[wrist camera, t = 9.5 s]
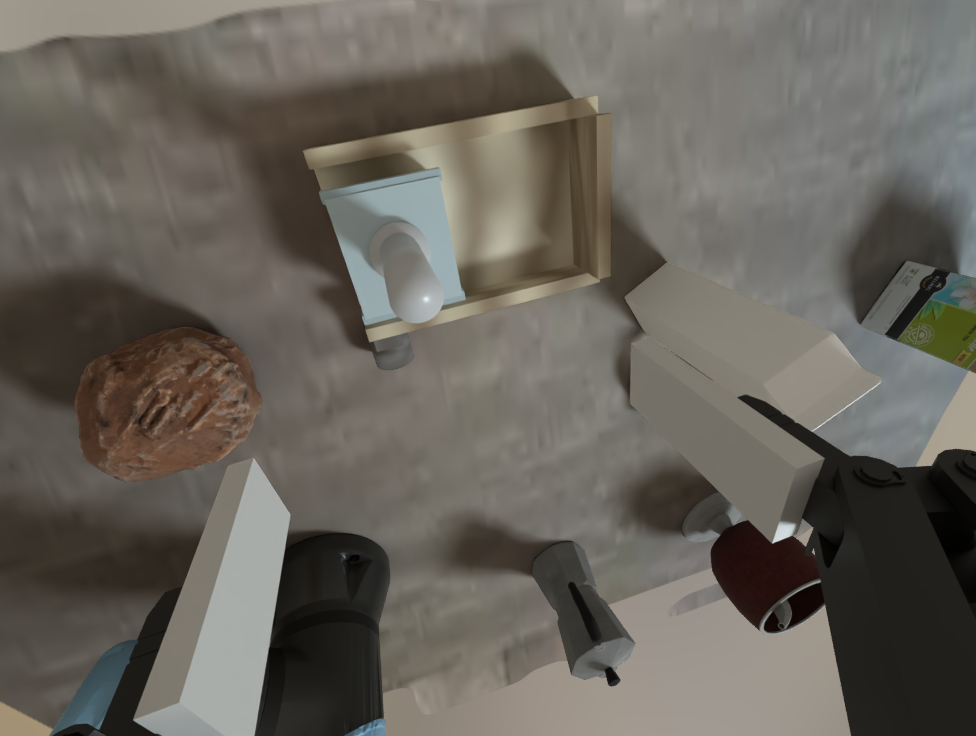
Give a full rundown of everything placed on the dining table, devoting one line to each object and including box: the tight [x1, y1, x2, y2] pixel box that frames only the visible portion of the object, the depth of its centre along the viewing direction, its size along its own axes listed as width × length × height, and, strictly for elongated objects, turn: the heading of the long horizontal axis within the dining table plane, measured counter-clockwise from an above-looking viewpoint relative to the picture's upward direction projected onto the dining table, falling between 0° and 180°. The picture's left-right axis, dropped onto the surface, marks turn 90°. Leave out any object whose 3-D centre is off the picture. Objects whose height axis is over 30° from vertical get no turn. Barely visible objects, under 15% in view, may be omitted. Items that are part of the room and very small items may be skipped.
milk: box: [624, 262, 881, 431], centre depth 38 cm, size 6×6×22 cm
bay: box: [303, 96, 612, 370], centre depth 36 cm, size 22×18×6 cm
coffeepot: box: [532, 542, 635, 686], centre depth 59 cm, size 15×9×18 cm, turn 17°
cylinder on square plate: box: [319, 167, 466, 325], centre depth 29 cm, size 8×10×15 cm
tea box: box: [861, 261, 976, 373], centre depth 54 cm, size 15×10×15 cm, turn 73°
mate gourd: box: [682, 492, 825, 636], centre depth 65 cm, size 16×14×20 cm
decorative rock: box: [75, 326, 263, 482], centre depth 33 cm, size 13×11×10 cm
